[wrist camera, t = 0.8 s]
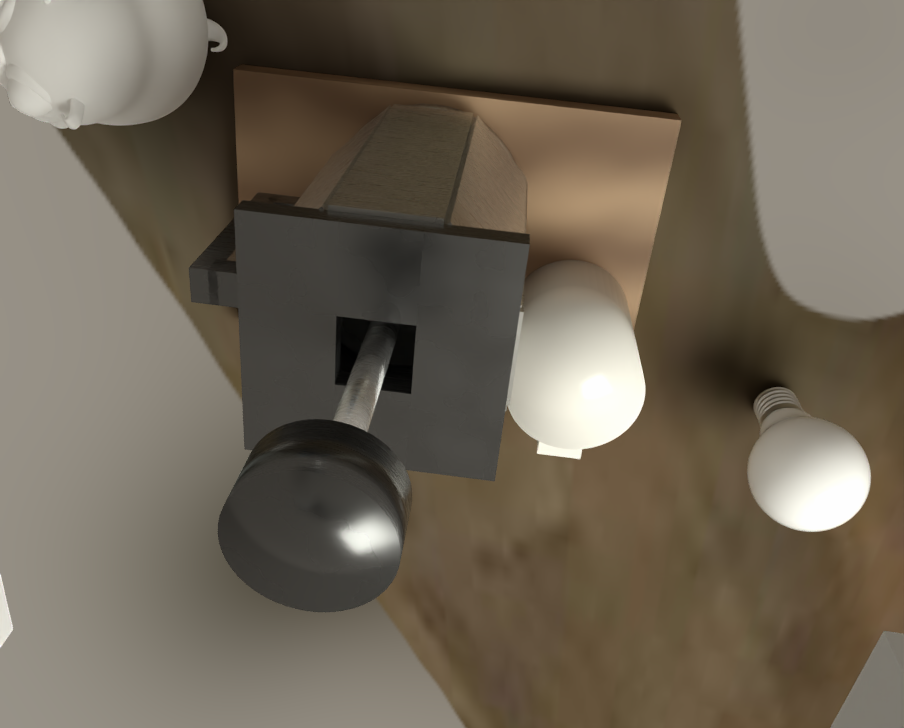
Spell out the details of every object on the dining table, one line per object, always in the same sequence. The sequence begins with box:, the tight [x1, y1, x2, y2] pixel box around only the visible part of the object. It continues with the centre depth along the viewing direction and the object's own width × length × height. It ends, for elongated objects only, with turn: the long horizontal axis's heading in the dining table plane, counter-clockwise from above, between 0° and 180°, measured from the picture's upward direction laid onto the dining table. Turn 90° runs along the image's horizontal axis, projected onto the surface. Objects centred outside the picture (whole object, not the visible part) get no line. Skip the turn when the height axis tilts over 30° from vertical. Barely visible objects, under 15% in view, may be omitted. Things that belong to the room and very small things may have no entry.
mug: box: [508, 260, 645, 459], centre depth 46 cm, size 9×7×9 cm
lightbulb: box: [747, 387, 871, 532], centre depth 48 cm, size 6×6×11 cm
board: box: [233, 64, 682, 330], centre depth 48 cm, size 16×24×2 cm, turn 85°
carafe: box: [189, 104, 530, 481], centre depth 39 cm, size 11×14×18 cm
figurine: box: [0, 0, 227, 129], centre depth 39 cm, size 10×10×12 cm
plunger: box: [218, 317, 416, 612], centre depth 30 cm, size 8×8×18 cm
